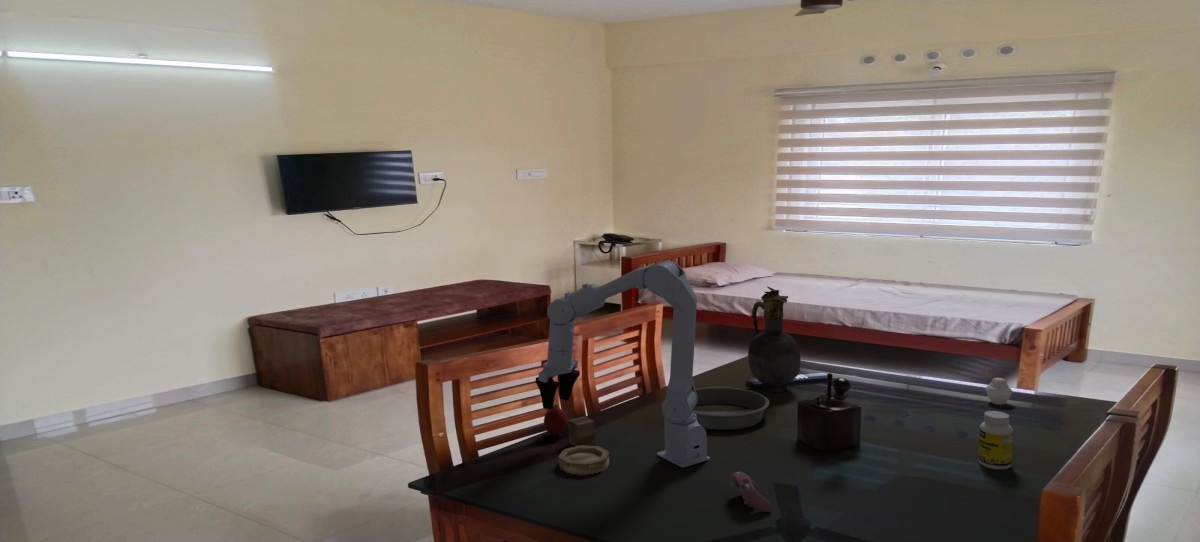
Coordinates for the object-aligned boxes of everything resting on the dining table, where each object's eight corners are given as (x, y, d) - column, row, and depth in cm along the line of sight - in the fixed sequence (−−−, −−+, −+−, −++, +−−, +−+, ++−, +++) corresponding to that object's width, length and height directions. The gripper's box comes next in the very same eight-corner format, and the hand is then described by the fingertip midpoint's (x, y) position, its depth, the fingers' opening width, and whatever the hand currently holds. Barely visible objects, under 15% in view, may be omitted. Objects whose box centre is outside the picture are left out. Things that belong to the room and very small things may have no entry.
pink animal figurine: (739, 500, 148) (723, 471, 146) (759, 488, 148) (743, 459, 146) (753, 523, 138) (736, 492, 137) (775, 511, 138) (758, 480, 137)
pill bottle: (971, 462, 158) (973, 412, 157) (992, 457, 161) (994, 407, 159) (997, 472, 153) (999, 421, 151) (1018, 467, 155) (1020, 416, 154)
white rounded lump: (987, 398, 200) (988, 373, 199) (1013, 401, 197) (1014, 376, 196) (983, 404, 195) (984, 378, 195) (1009, 408, 192) (1010, 381, 191)
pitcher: (772, 398, 206) (771, 292, 202) (738, 381, 224) (737, 283, 220) (805, 393, 209) (806, 288, 205) (769, 376, 227) (769, 280, 223)
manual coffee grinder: (793, 439, 175) (793, 365, 172) (830, 431, 179) (831, 359, 177) (839, 462, 161) (840, 381, 158) (878, 453, 165) (879, 374, 163)
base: (618, 467, 162) (618, 456, 161) (575, 479, 156) (575, 468, 156) (592, 452, 171) (592, 441, 171) (550, 463, 165) (549, 452, 165)
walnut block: (595, 445, 175) (594, 421, 174) (578, 449, 173) (577, 425, 172) (585, 440, 179) (584, 416, 178) (569, 444, 177) (568, 420, 176)
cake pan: (789, 418, 190) (789, 401, 190) (719, 440, 177) (718, 421, 176) (722, 396, 210) (722, 380, 210) (654, 414, 197) (654, 397, 196)
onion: (564, 440, 179) (563, 408, 178) (541, 439, 180) (540, 407, 179) (570, 432, 185) (569, 401, 184) (548, 431, 186) (546, 400, 185)
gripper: (561, 338, 181) (557, 391, 183) (528, 351, 168) (524, 408, 170) (586, 344, 177) (582, 398, 180) (555, 357, 165) (551, 415, 167)
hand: (556, 403), depth 175 cm, fingers open, 7 cm apart
